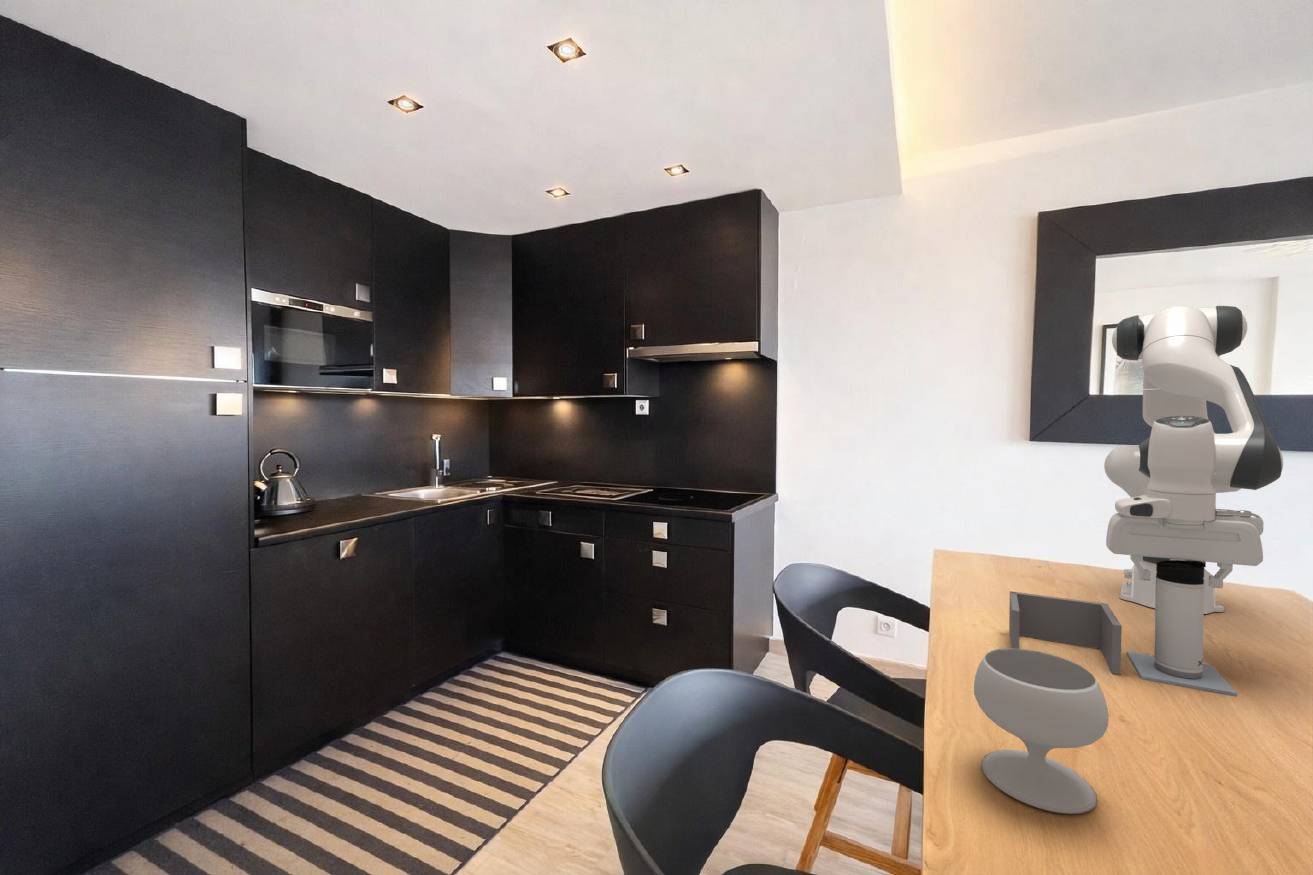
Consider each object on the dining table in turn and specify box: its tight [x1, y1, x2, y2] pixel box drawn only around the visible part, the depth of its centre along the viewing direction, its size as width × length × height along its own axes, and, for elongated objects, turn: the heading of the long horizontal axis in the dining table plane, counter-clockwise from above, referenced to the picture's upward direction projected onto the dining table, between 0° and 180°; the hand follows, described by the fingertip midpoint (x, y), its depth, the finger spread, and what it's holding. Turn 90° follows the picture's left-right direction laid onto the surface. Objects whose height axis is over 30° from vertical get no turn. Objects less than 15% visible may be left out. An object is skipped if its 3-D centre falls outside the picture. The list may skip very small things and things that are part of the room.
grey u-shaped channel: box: [1008, 590, 1123, 676], centre depth 107 cm, size 13×16×9 cm
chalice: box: [973, 647, 1110, 815], centre depth 69 cm, size 14×14×15 cm
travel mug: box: [1153, 560, 1207, 679], centre depth 97 cm, size 6×7×20 cm
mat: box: [1126, 650, 1238, 697], centre depth 98 cm, size 12×12×1 cm
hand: (1178, 583), depth 97 cm, fingers open, 8 cm apart
